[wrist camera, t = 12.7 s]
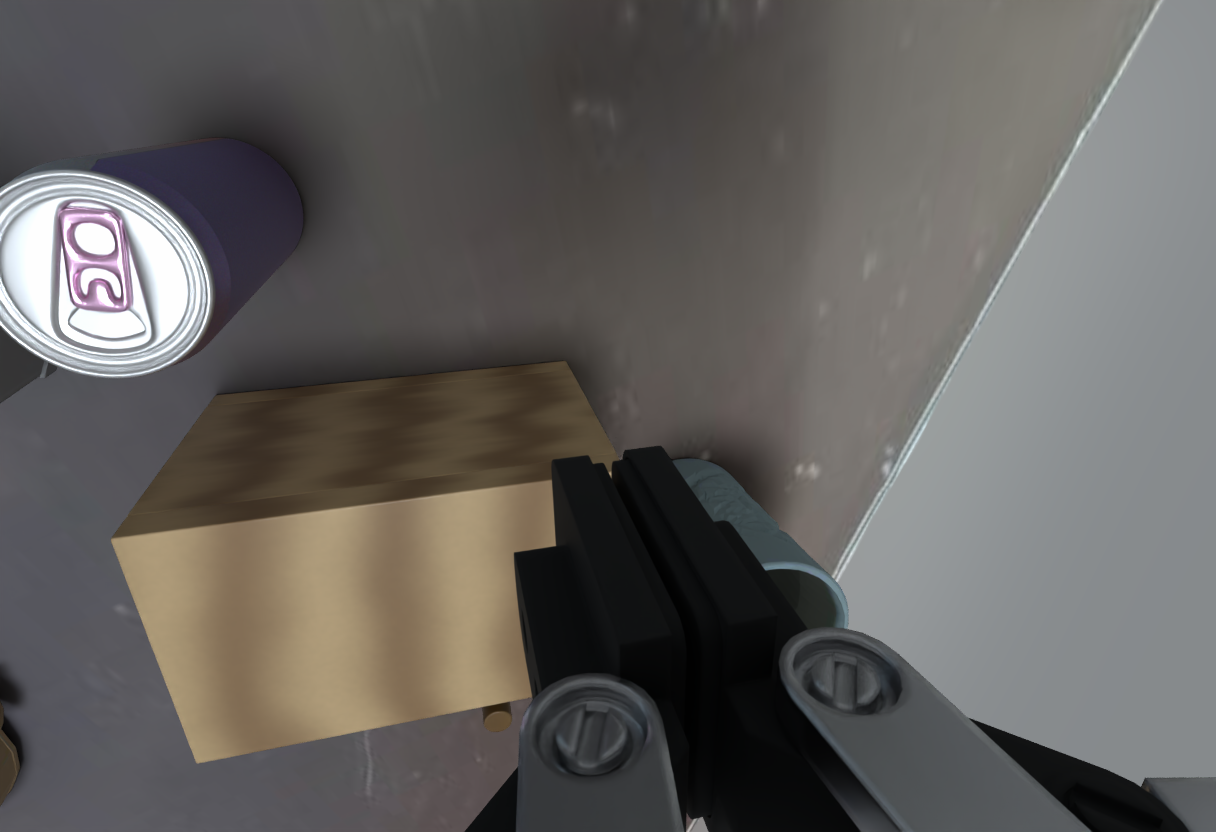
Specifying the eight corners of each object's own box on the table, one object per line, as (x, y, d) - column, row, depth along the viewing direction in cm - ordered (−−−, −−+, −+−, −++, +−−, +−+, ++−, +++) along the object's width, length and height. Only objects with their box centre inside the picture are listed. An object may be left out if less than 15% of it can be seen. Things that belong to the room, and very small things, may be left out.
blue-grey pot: (752, 437, 43) (858, 545, 33) (749, 566, 48) (842, 699, 37) (596, 464, 41) (655, 589, 31) (608, 596, 46) (662, 745, 35)
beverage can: (305, 148, 31) (213, 179, 18) (306, 278, 33) (226, 392, 20) (155, 126, 30) (-68, 143, 16) (167, 264, 32) (-20, 379, 18)
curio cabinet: (566, 360, 38) (625, 470, 27) (574, 538, 43) (627, 695, 32) (214, 394, 35) (109, 539, 23) (267, 584, 40) (202, 781, 28)
